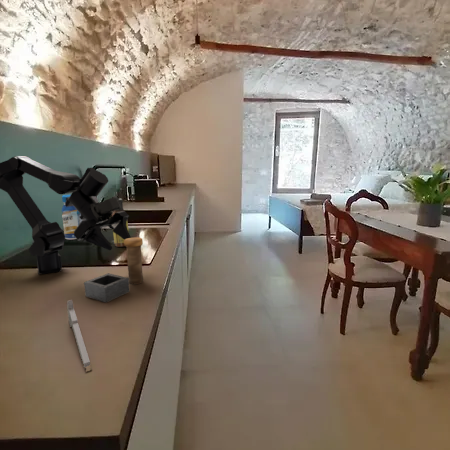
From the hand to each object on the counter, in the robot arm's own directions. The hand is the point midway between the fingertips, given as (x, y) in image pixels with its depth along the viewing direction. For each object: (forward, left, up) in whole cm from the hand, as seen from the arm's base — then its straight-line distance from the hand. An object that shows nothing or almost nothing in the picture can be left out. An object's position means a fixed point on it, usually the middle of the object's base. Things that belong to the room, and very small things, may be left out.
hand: (121, 245), depth 96 cm
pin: (+3, -3, -11) cm, 12 cm away
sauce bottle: (+9, +42, -11) cm, 44 cm away
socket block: (-6, -8, -11) cm, 15 cm away
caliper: (-16, -31, -11) cm, 36 cm away
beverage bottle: (-7, +68, -11) cm, 69 cm away
